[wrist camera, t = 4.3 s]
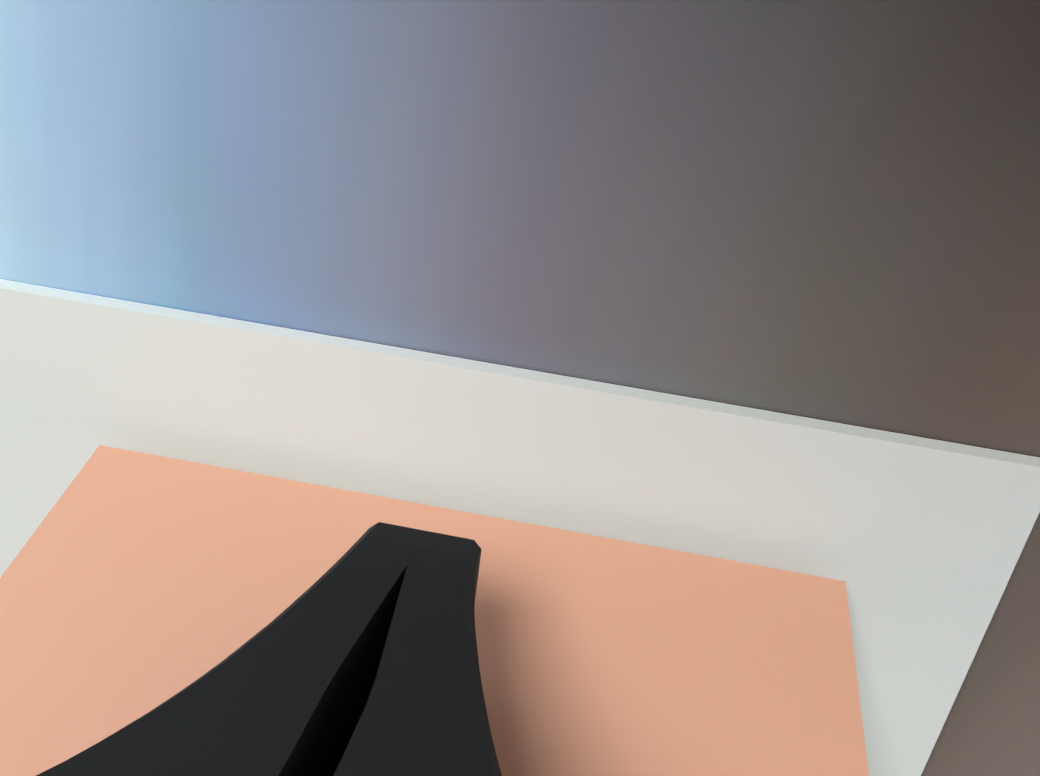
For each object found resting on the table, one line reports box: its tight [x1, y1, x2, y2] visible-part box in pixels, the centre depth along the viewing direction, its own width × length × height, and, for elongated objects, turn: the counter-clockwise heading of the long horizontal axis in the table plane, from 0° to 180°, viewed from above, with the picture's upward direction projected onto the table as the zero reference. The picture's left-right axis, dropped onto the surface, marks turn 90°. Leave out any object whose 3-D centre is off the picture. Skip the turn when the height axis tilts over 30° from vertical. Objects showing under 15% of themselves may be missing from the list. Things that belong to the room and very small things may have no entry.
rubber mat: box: [0, 279, 1040, 776], centre depth 19 cm, size 17×15×1 cm
